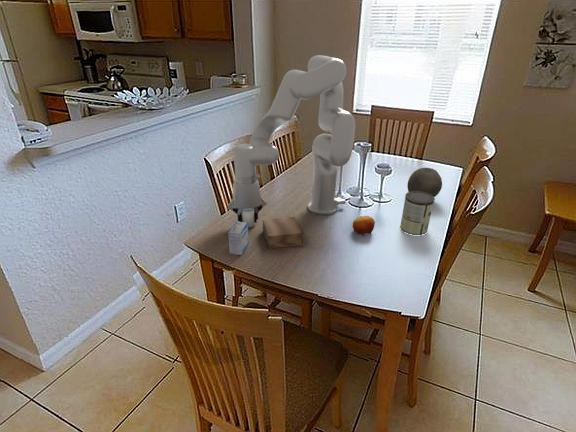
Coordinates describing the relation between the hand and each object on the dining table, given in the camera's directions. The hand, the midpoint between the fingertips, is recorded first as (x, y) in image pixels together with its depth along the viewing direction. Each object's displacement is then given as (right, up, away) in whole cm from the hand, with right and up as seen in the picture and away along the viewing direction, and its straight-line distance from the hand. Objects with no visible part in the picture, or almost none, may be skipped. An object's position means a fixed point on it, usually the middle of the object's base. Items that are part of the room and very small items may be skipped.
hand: (248, 221), depth 144 cm
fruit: (+44, -4, -3) cm, 44 cm away
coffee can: (+64, -3, 0) cm, 64 cm away
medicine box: (-2, -9, -14) cm, 17 cm away
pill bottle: (0, -1, +1) cm, 1 cm away
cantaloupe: (+75, +9, +23) cm, 79 cm away
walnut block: (+13, -6, -7) cm, 16 cm away
